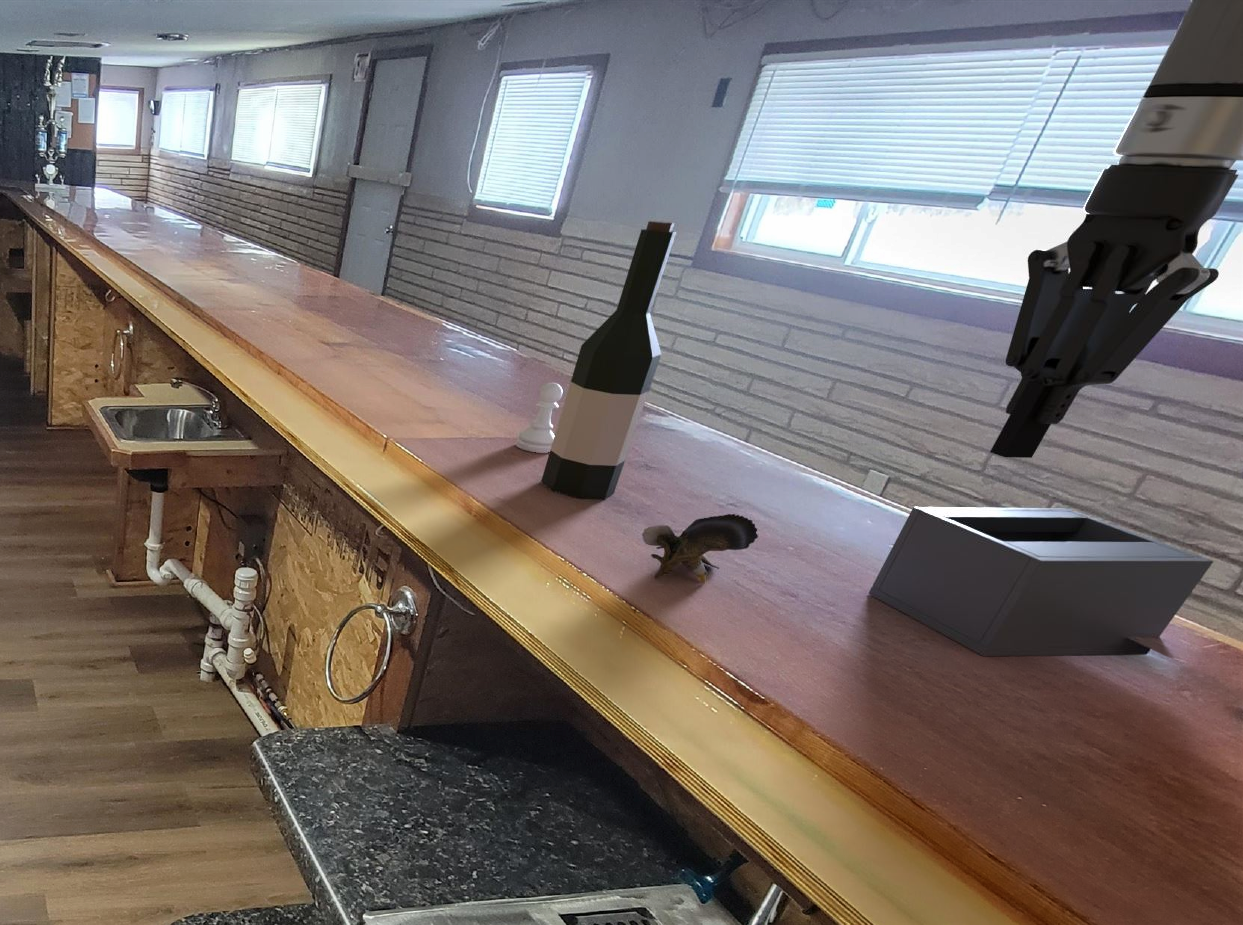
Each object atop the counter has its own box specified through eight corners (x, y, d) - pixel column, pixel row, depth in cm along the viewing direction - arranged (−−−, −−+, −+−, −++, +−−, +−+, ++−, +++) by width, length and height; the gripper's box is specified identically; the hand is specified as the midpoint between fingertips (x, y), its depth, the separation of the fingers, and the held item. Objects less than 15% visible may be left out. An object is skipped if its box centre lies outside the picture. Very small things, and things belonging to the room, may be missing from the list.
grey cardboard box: (1067, 507, 85) (1214, 561, 75) (1015, 593, 90) (1147, 654, 79) (913, 506, 84) (1041, 560, 73) (867, 593, 88) (982, 656, 78)
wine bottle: (541, 492, 110) (622, 221, 95) (540, 472, 117) (615, 216, 102) (616, 504, 108) (712, 227, 93) (611, 482, 114) (698, 222, 99)
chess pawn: (538, 455, 123) (557, 389, 119) (507, 445, 127) (525, 380, 123) (562, 451, 126) (581, 385, 121) (531, 441, 129) (549, 377, 125)
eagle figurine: (718, 591, 84) (772, 557, 88) (693, 520, 84) (748, 489, 87) (641, 601, 91) (694, 569, 95) (617, 536, 91) (671, 506, 94)
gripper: (1048, 158, 76) (911, 433, 88) (1229, 164, 65) (1044, 478, 77) (1127, 162, 77) (981, 434, 89) (1319, 168, 66) (1122, 479, 77)
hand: (1010, 454), depth 83 cm, fingers closed
